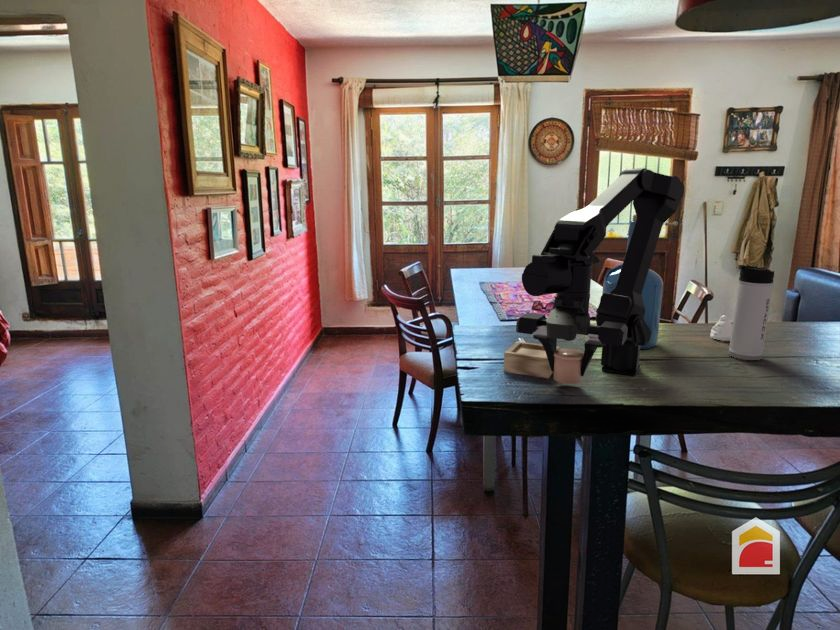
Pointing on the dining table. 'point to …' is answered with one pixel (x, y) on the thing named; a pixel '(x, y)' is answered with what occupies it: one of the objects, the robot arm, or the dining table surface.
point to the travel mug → (751, 313)
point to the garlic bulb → (722, 329)
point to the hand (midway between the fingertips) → (567, 373)
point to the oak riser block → (527, 360)
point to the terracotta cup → (568, 366)
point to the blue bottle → (649, 294)
